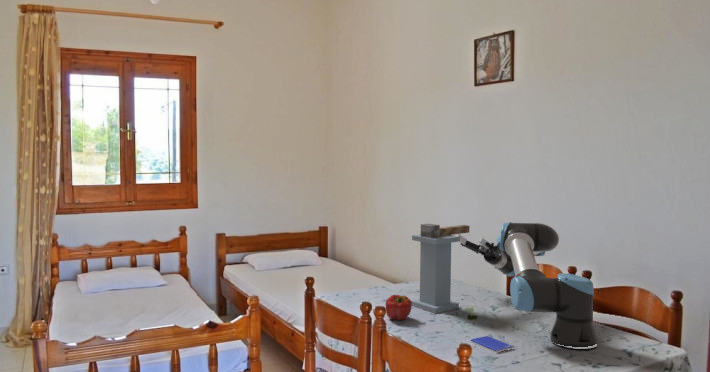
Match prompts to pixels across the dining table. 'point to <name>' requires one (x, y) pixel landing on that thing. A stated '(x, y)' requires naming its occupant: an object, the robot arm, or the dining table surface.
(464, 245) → the robot arm
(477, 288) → the dining table surface
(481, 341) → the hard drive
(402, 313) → the vegetable
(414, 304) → the stand
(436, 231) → the mallet
